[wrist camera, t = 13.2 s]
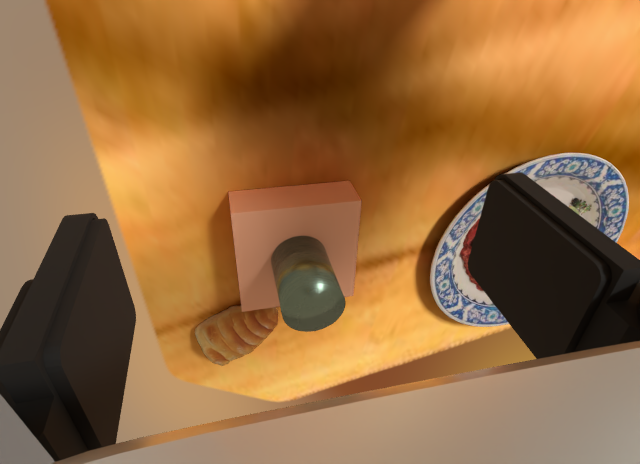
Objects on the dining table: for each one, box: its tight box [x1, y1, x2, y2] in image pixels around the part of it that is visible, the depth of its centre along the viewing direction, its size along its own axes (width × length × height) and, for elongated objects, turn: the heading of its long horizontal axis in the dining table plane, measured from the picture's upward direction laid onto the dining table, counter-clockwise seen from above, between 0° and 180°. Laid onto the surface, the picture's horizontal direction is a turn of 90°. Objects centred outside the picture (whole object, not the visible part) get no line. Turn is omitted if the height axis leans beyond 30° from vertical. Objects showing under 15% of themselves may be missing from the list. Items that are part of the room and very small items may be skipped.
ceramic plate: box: [430, 153, 629, 327], centre depth 53 cm, size 26×26×3 cm
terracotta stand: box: [228, 181, 362, 312], centre depth 44 cm, size 12×12×4 cm
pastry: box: [195, 305, 278, 366], centre depth 50 cm, size 9×7×4 cm
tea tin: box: [271, 236, 345, 332], centre depth 39 cm, size 6×6×7 cm
